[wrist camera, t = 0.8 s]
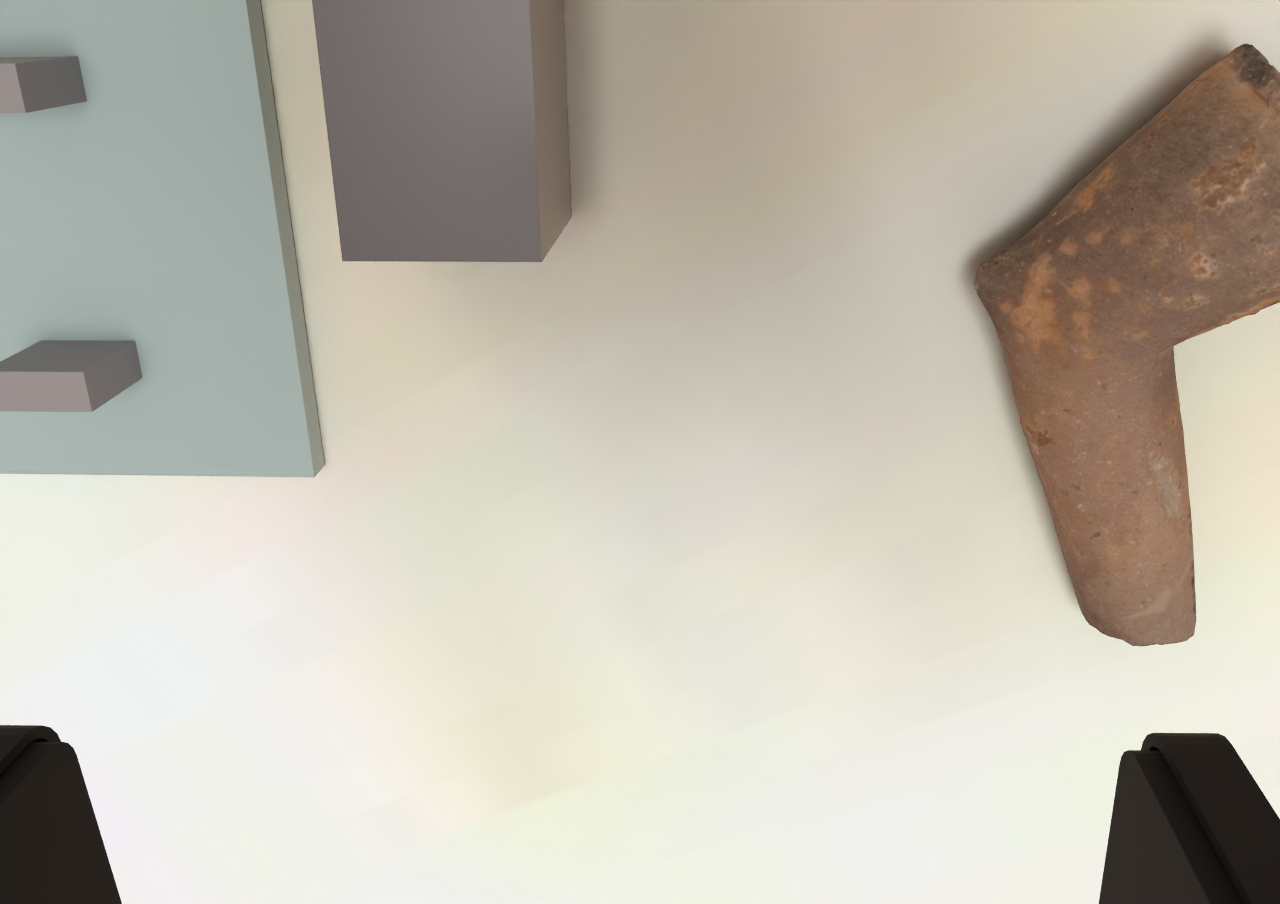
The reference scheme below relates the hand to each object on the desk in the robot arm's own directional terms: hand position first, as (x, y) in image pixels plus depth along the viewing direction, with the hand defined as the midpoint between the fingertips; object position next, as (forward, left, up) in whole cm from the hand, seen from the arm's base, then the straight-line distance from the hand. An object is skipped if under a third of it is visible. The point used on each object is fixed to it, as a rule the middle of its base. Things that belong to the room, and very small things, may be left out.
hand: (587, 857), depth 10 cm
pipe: (+3, +14, -25) cm, 29 cm away
